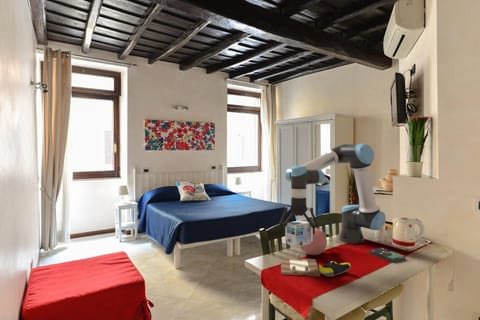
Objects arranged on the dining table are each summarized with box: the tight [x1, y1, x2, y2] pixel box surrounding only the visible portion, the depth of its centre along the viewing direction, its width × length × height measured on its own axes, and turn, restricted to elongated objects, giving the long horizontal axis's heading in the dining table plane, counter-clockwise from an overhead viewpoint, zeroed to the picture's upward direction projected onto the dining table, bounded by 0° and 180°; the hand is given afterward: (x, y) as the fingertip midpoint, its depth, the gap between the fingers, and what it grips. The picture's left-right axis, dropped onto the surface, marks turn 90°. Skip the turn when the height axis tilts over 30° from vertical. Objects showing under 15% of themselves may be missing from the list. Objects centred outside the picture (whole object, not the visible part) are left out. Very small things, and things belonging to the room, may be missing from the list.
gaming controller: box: [318, 260, 352, 278], centre depth 131 cm, size 15×6×10 cm
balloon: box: [299, 227, 328, 256], centre depth 158 cm, size 15×20×15 cm
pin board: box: [280, 253, 321, 277], centre depth 139 cm, size 18×18×4 cm
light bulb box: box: [286, 219, 312, 248], centre depth 138 cm, size 11×7×11 cm, turn 123°
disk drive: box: [368, 247, 406, 264], centre depth 153 cm, size 10×3×15 cm
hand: (298, 240), depth 138 cm, fingers closed on light bulb box, 12 cm apart
